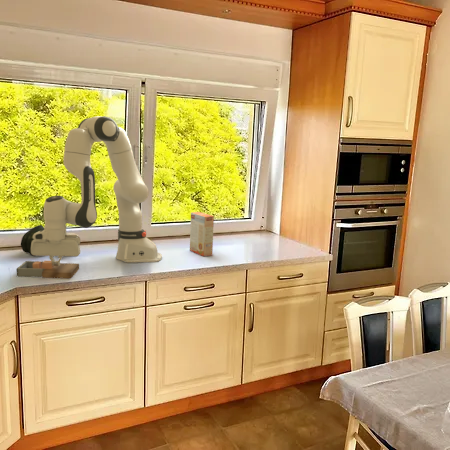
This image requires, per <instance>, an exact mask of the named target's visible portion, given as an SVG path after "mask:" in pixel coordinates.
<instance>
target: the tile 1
mask: <svg viewBox="0 0 450 450" xmlns="http://www.w3.org/2000/svg"><path fill="white" fill-rule="evenodd" d="M41 261H42V260H41ZM41 261H40V260H39V261H38V260H37V262H34V263H33V264H32V265H33V268H37V269H42V264H41Z"/></svg>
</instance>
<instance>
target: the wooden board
mask: <svg viewBox="0 0 450 450" xmlns="http://www.w3.org/2000/svg"><path fill="white" fill-rule="evenodd" d="M79 270H80V263H72V262H71V263H70V262H67V263H65V262H60V266H54V267H53V268H52V269H45V270H44V271H43V272H42V277H41V278H42V279H73V278H74V276H75V275H76V274H77V272H78V271H79Z"/></svg>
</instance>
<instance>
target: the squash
mask: <svg viewBox="0 0 450 450" xmlns="http://www.w3.org/2000/svg"><path fill="white" fill-rule="evenodd" d="M42 230H44V226H43V225H42V224H39V225H36V226H34V227H32V228H30V229H29V230H28V231H26V232H25V233H24V234H23V236H22V237H21V240H20V247H21V249H22V251H23V252H24V253H26V254H30V256H33V257H36V255H32V254H31V243H32V241H33V240H34V239H33V235H34V234H35V233H36V232H39V231H42Z"/></svg>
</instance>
